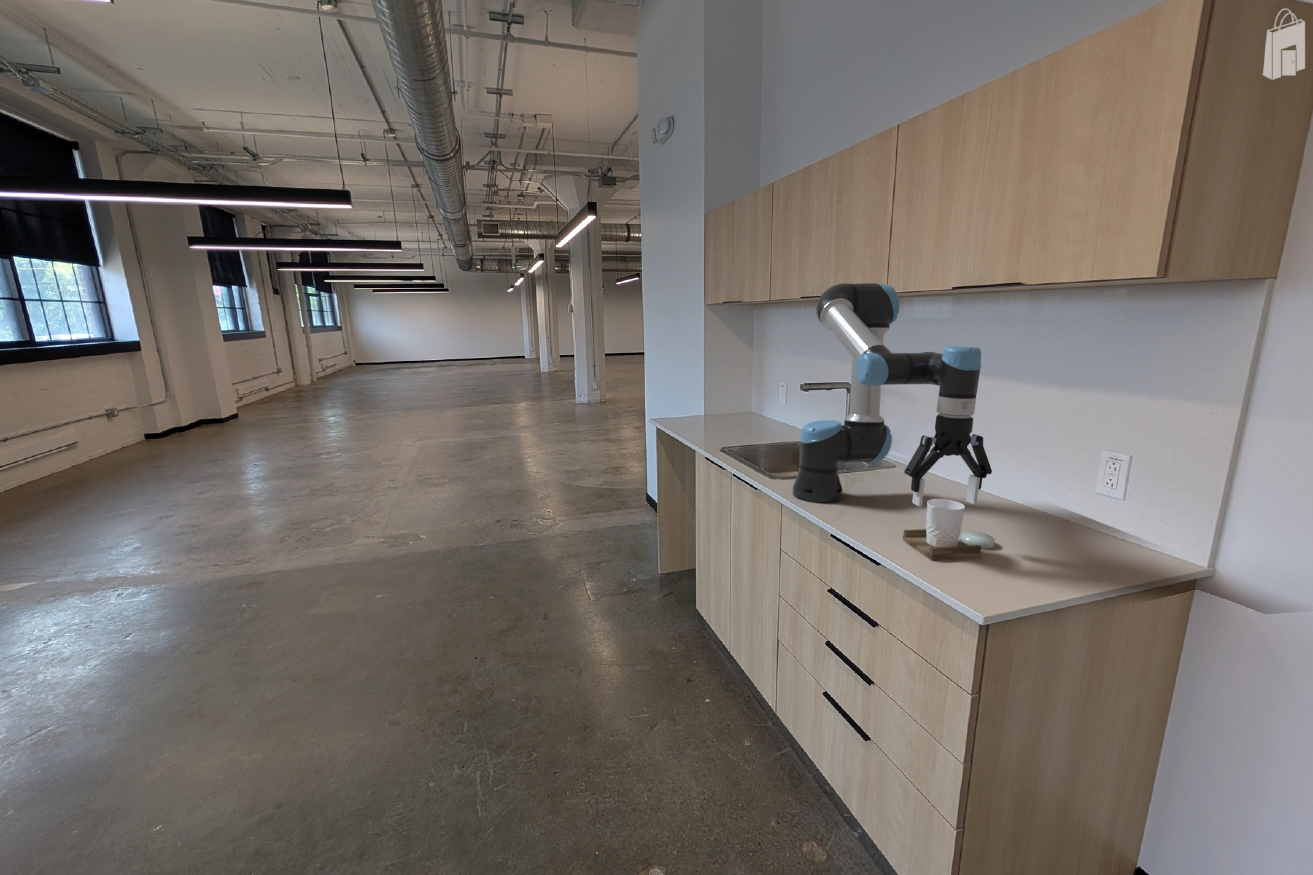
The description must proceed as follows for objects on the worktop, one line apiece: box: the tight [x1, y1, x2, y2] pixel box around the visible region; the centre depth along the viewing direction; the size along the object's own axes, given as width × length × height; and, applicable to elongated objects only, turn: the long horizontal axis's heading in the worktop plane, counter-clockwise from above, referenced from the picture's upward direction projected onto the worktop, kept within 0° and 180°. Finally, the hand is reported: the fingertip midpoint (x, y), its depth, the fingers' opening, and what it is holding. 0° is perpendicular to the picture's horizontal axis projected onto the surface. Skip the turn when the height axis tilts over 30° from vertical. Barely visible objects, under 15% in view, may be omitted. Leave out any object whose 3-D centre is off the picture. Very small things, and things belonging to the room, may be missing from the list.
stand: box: [902, 528, 982, 561], centre depth 129 cm, size 12×12×3 cm
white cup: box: [925, 498, 966, 547], centre depth 128 cm, size 8×8×10 cm
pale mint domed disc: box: [960, 531, 995, 550], centre depth 132 cm, size 7×7×2 cm
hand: (944, 503), depth 127 cm, fingers open, 13 cm apart
